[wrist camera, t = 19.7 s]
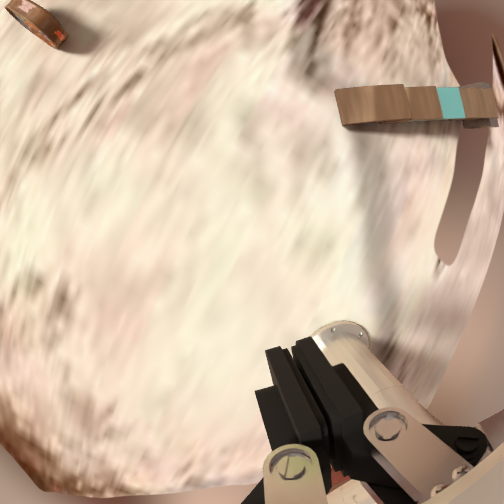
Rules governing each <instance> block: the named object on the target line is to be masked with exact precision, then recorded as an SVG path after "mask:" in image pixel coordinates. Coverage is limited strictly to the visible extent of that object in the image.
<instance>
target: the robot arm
mask: <svg viewBox="0 0 504 504" xmlns="http://www.w3.org/2000/svg"><path fill="white" fill-rule="evenodd" d="M291 349H292V354H293V358H292V356H291V354H290V352H289V350H288V349H287V348H286V349H282V348H281V347H280V346H278V347H275V348H272V349H268V350H265V353H266V357H267V361H268V365H269V369H270V373H271V377H272V381H273V384H274V386H271V387H267V388H264V389H260V390H257V391H255V394H256V398H257V401H258V405H259V408H260V412H261V415H262V419H263V422H264V425H265V429H266V432H267V435H268V439H269V442H270V445H271V449H272V452H271V453H270V454H269V455H268V456H267V457H266V459H265V461H264V465H263V478H262V480H261V481H260V482H259V483H258V485H257V486H256V487H255V488H254V489H253V490H252V492H251V493H250V494H249V495H248V496H247V497H246V499H245V500H244V501H243V502H242V503H241V504H504V410H502V411H500V412H498V413H497V414H495V415H493V416H491V417H489V418H487V419H485V420H483V421H481V422H479V423H478V425H477V426H476V427H462V426H445V425H444V424H443V423H441V422H440V421H439V420H437V419H436V418H434V416H432V415H431V414H430V413H429V412H428V411H427V410H426V409H425V408H424V407H423V406H422V405H421V404H420V403H419V402H418V401H417V400H416V399H415V398H414V397H413V396H412V395H411V394H410V393H409V392H408V391H407V390H406V389H405V388H404V386H403V385H402V384H401V383H400V382H399V381H398V380H397V379H396V378H395V377H394V376H393V375H392V374H391V372H390V371H389V370H388V369H387V368H386V367H385V366H384V365H383V364H382V363H381V362H380V361H379V360H378V359H377V358H376V357H375V355H374V354H373V353H372V352H371V351H370V350H369V339H368V336H367V334H366V332H365V331H364V330H363V329H362V328H361V327H360V326H359V325H357V324H355V323H353V322H349V321H339V322H334V323H331V324H328V325H326V326H324V327H322V328H320V329H319V330H317V331H316V332H315V333H313V334H312V335H311V336H310V337H307V338H304V339H301V340H298V341H296V345H295V346H292V347H291ZM330 463H331V465H332V467H333V469H334V471H335V472H337V471H339V470H341V472H342V474H343V476H344V477H345V476H347V475H349V476H350V478H351V479H352V480H350V481H349V482H347V483H345V484H344V485H342V486H340V487H339V488H337V489H336V490H334V491H332V492H331V493H329V494H328V495H327V493H328V492H329V490H330V488H331V487H332V483H331V467H330ZM326 495H327V496H326Z"/></svg>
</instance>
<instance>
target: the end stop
mask: <svg viewBox="0 0 504 504" xmlns="http://www.w3.org/2000/svg"><path fill="white" fill-rule="evenodd" d="M458 88H477V89H488V88H490V86H489V84H487V83H483V82H479V83H474V84H469V85H464V86H460V87H458ZM462 121H463V126H464V128H488V127H499V126H498V120H497V118H483V119H464V120H462Z"/></svg>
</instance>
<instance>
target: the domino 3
mask: <svg viewBox="0 0 504 504" xmlns="http://www.w3.org/2000/svg"><path fill="white" fill-rule="evenodd" d="M436 89H437V93H438V97H439V101H440V105H441V109H442V114H443V119H435V120H444V119H463V118H465V113H464V108H463V104H462V100H461V96H460V92H459V88H458V87H448V88H436ZM419 121H427V120H419ZM407 122H415V121H407Z"/></svg>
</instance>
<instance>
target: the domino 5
mask: <svg viewBox="0 0 504 504" xmlns="http://www.w3.org/2000/svg"><path fill="white" fill-rule="evenodd" d="M477 90H478V94H479V98H480V103H481V107H482V111H483V116H484V117H483V118H499V117H498V112H497V107H496V103H495V99H494V95H493V91H492V88H488V89H477ZM483 118H467V119H483ZM448 120H464V119H448Z"/></svg>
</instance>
